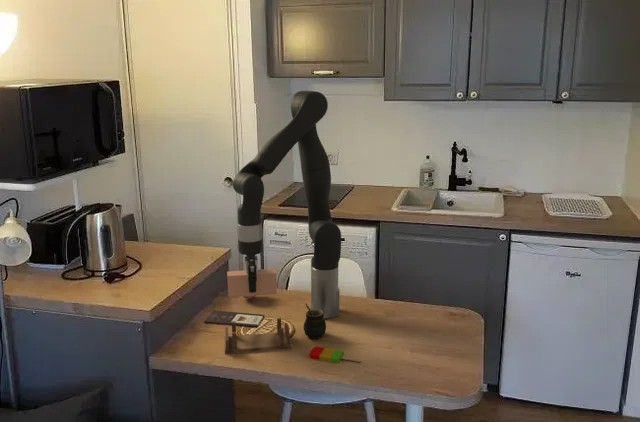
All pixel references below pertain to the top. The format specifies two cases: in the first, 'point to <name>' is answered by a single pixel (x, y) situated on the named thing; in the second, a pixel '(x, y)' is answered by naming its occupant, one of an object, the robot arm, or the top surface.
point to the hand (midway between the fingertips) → (252, 289)
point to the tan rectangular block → (240, 283)
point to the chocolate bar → (234, 318)
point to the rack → (257, 340)
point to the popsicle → (328, 355)
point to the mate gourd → (314, 324)
